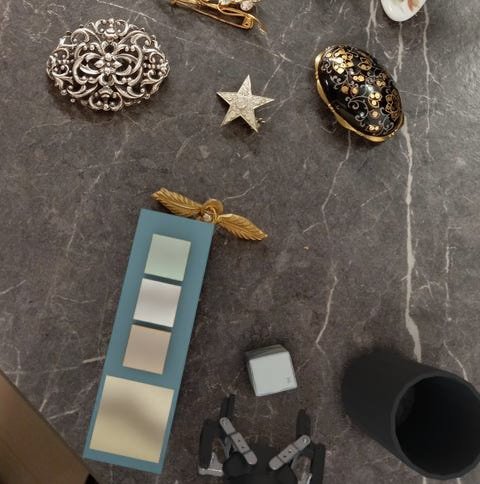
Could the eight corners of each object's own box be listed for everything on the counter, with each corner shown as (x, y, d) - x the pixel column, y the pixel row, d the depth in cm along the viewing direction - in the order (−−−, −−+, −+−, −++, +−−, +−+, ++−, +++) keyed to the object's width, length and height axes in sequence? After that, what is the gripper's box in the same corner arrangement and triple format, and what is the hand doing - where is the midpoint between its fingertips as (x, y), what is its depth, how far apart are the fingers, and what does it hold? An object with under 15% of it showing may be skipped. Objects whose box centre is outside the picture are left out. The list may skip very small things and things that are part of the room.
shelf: (166, 431, 116) (161, 474, 89) (105, 418, 116) (82, 457, 89) (208, 238, 123) (214, 224, 95) (150, 226, 123) (141, 207, 95)
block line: (158, 462, 89) (157, 470, 85) (89, 447, 89) (85, 455, 85) (205, 246, 95) (206, 244, 91) (140, 232, 95) (138, 230, 91)
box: (280, 343, 120) (291, 349, 107) (287, 377, 119) (300, 387, 106) (241, 352, 119) (248, 359, 107) (248, 386, 118) (256, 398, 106)
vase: (384, 450, 117) (450, 503, 88) (324, 397, 118) (369, 432, 89) (431, 386, 120) (511, 417, 91) (372, 334, 121) (431, 349, 92)
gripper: (329, 528, 91) (332, 397, 106) (192, 498, 91) (213, 371, 105) (312, 569, 95) (317, 438, 109) (180, 540, 95) (202, 413, 109)
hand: (266, 405), depth 107 cm, fingers open, 8 cm apart
